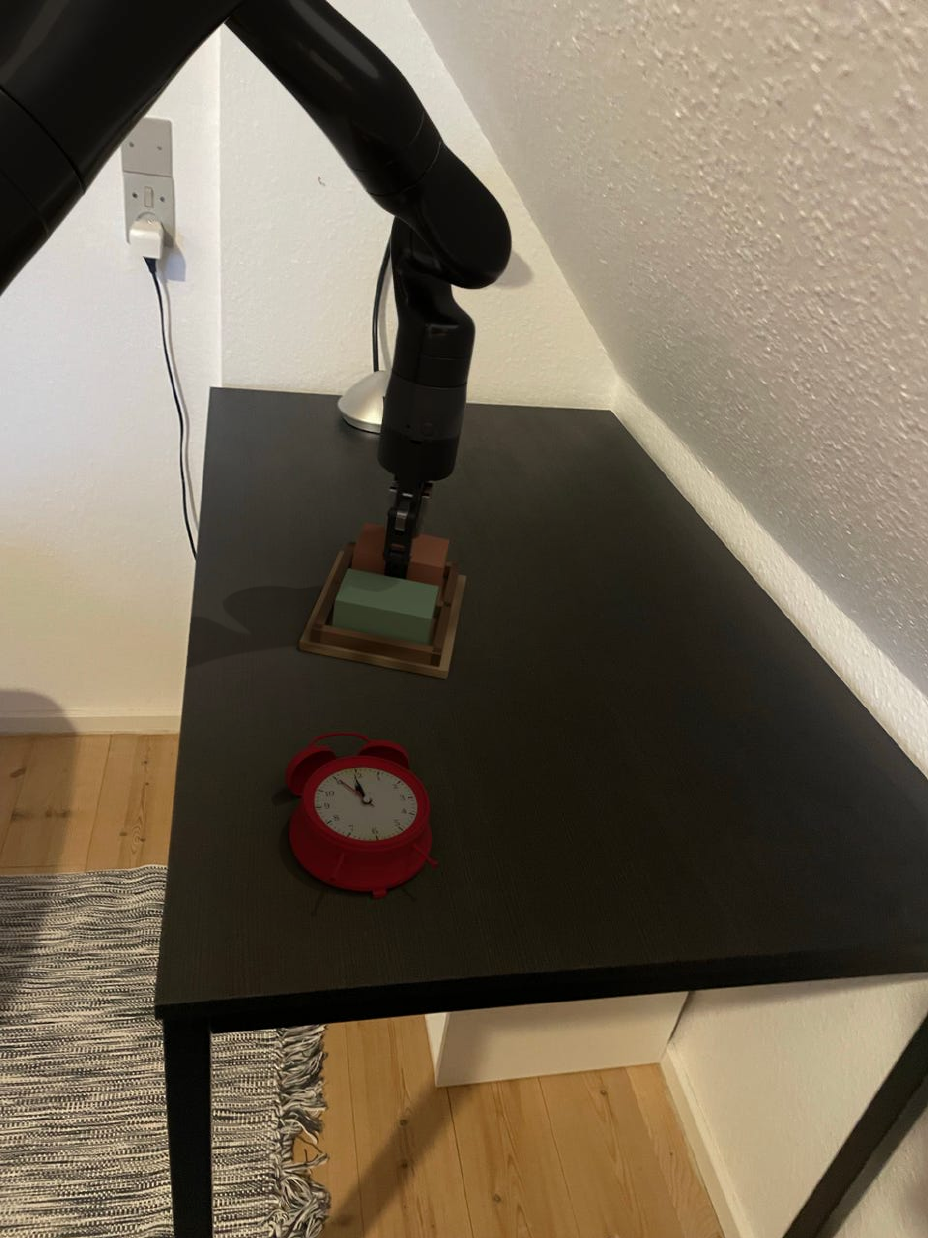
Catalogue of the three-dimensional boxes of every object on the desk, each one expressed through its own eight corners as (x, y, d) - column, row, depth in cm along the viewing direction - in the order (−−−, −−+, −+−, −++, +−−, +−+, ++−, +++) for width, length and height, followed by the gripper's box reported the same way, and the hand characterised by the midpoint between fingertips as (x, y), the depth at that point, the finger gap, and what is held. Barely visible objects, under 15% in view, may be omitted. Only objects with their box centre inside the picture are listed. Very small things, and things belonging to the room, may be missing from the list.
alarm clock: (311, 881, 61) (277, 698, 70) (300, 925, 65) (268, 747, 74) (462, 860, 65) (410, 689, 74) (442, 903, 69) (395, 736, 78)
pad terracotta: (349, 583, 95) (353, 549, 93) (360, 555, 100) (364, 522, 98) (436, 601, 95) (443, 567, 93) (443, 572, 100) (449, 539, 98)
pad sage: (330, 635, 89) (334, 599, 86) (343, 602, 94) (347, 567, 92) (424, 654, 89) (431, 618, 87) (432, 620, 94) (439, 586, 92)
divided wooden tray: (298, 650, 87) (300, 627, 86) (338, 557, 103) (341, 537, 101) (446, 679, 88) (451, 658, 86) (465, 583, 103) (469, 563, 101)
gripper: (395, 387, 94) (374, 534, 103) (369, 440, 82) (348, 602, 91) (468, 402, 94) (441, 547, 103) (453, 457, 82) (424, 617, 91)
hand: (398, 572), depth 97 cm, fingers closed on pad terracotta, 6 cm apart
